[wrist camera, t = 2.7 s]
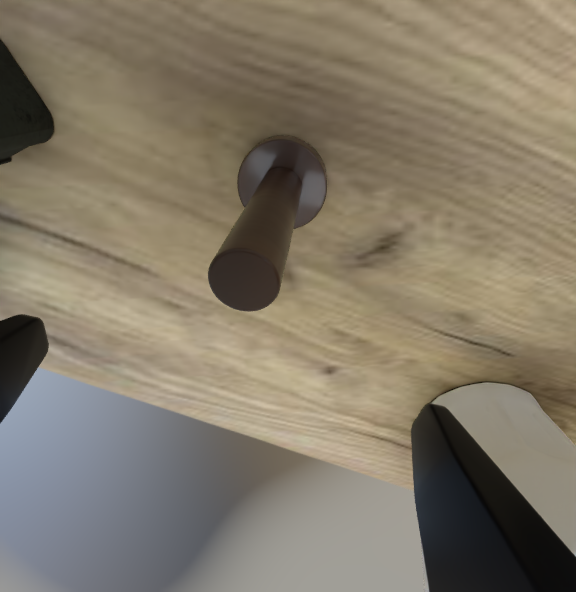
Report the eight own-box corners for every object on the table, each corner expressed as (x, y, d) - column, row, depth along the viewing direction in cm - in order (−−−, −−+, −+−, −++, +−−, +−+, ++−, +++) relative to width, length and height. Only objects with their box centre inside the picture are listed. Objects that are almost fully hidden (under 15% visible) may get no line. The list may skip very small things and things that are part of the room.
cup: (552, 334, 21) (724, 536, 12) (586, 446, 26) (724, 646, 17) (366, 394, 26) (387, 574, 17) (426, 479, 31) (468, 652, 22)
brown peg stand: (337, 147, 17) (346, 226, 8) (314, 230, 19) (303, 358, 11) (248, 125, 16) (163, 182, 8) (237, 211, 19) (162, 326, 10)
